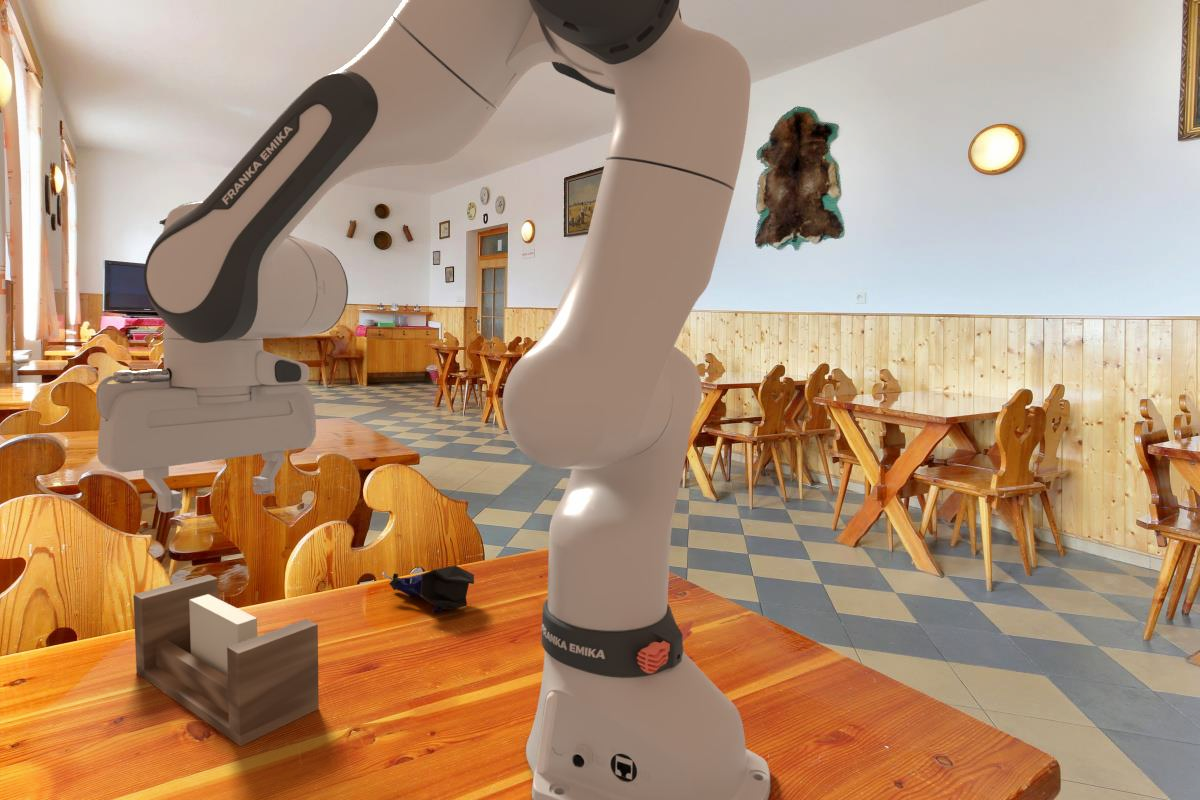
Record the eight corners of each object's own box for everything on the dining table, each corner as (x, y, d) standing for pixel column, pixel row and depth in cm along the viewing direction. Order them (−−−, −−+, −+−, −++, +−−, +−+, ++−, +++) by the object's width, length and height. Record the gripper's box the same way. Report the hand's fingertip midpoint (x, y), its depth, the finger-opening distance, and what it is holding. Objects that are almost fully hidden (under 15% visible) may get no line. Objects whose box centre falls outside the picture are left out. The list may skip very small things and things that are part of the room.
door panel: (258, 692, 71) (257, 618, 70) (239, 700, 69) (237, 624, 69) (210, 663, 77) (208, 594, 76) (191, 670, 75) (189, 599, 74)
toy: (428, 570, 106) (491, 568, 97) (423, 613, 104) (486, 615, 95) (376, 564, 100) (437, 560, 90) (369, 610, 98) (431, 611, 88)
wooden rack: (318, 708, 70) (317, 624, 69) (240, 746, 64) (238, 653, 63) (211, 646, 83) (209, 574, 82) (136, 672, 76) (133, 594, 75)
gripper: (109, 373, 59) (117, 529, 61) (323, 366, 76) (325, 489, 77) (81, 369, 63) (88, 517, 64) (290, 363, 80) (293, 481, 81)
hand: (219, 501), depth 71 cm, fingers open, 8 cm apart
